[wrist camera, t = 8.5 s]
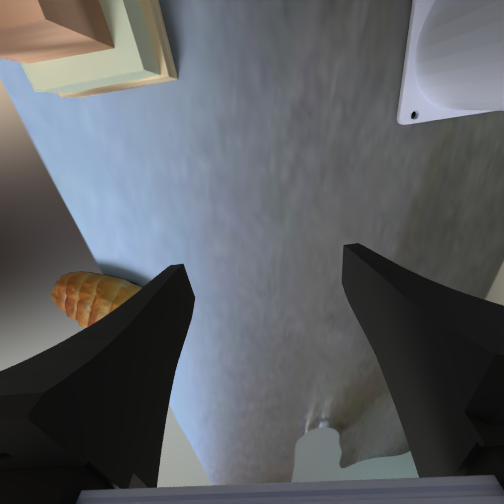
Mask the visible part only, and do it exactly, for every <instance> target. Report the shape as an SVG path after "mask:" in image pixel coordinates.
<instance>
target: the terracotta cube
mask: <svg viewBox="0 0 504 504" xmlns="http://www.w3.org/2000/svg"><path fill="white" fill-rule="evenodd" d="M108 49H114V44H113V41H112V38H111V35H110V32H109V29H108V26H107V23H106V20H105V17H104V14H103V11H102V7H101V4H100V1H99V0H0V58H2V59H7V60H12V61H17V62H23V63H28V64H30V63H36V62H41V61H47V60H53V59H58V58H64V57H69V56H75V55H80V54H86V53H92V52H97V51H103V50H108Z"/></svg>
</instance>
